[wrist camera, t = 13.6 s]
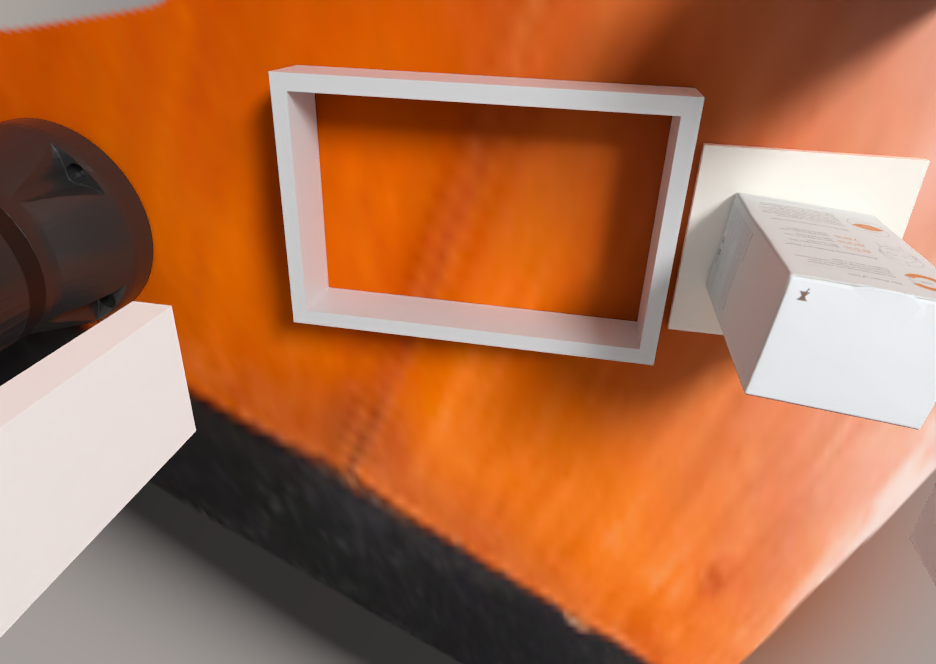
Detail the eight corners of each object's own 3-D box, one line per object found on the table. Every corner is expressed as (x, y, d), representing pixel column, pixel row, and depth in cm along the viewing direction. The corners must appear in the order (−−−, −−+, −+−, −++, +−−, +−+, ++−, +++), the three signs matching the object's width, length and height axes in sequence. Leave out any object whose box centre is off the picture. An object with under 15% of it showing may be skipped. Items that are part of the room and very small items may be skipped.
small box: (703, 286, 42) (739, 395, 30) (735, 189, 39) (789, 270, 27) (834, 311, 41) (922, 434, 29) (878, 214, 38) (995, 308, 26)
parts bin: (316, 298, 48) (293, 322, 45) (297, 64, 41) (268, 71, 37) (649, 336, 44) (653, 365, 41) (695, 88, 37) (704, 97, 34)
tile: (667, 324, 44) (668, 328, 43) (703, 143, 38) (704, 145, 38) (858, 346, 42) (861, 350, 42) (925, 158, 36) (930, 160, 36)
